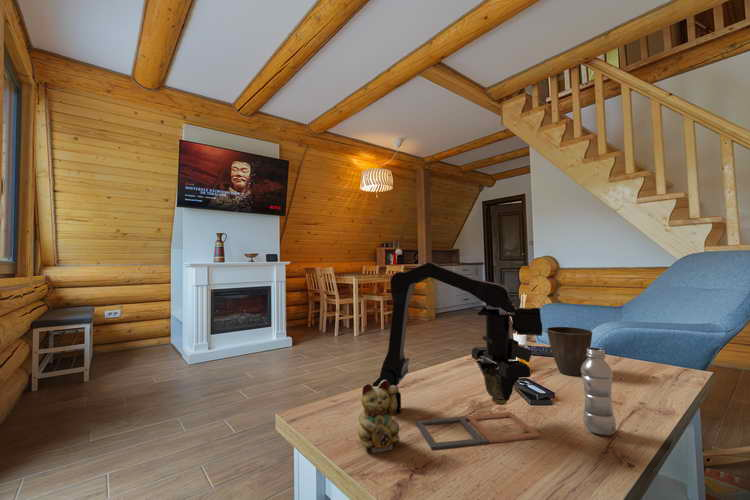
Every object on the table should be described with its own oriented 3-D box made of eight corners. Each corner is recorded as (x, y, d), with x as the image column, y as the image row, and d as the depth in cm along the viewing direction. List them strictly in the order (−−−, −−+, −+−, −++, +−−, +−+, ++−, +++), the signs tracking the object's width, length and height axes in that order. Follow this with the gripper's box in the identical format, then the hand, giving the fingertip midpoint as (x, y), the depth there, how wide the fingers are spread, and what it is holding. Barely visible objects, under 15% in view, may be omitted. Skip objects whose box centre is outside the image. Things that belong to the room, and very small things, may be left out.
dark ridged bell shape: (518, 410, 81) (517, 376, 82) (486, 408, 83) (485, 375, 83) (512, 398, 89) (511, 367, 89) (482, 396, 90) (481, 366, 90)
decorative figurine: (365, 459, 72) (364, 387, 73) (352, 440, 80) (351, 376, 81) (404, 448, 76) (403, 381, 77) (388, 432, 84) (387, 371, 85)
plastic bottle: (617, 442, 78) (613, 353, 79) (583, 434, 81) (579, 350, 82) (615, 430, 83) (611, 347, 84) (583, 423, 87) (579, 344, 88)
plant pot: (551, 365, 137) (550, 325, 138) (595, 371, 129) (593, 328, 129) (545, 374, 125) (543, 331, 126) (593, 382, 116) (590, 335, 117)
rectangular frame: (431, 449, 76) (431, 446, 76) (415, 423, 88) (415, 420, 88) (540, 437, 80) (540, 435, 80) (510, 414, 93) (510, 411, 93)
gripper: (550, 339, 79) (552, 407, 78) (506, 325, 97) (508, 380, 96) (506, 341, 77) (508, 411, 76) (470, 327, 95) (471, 383, 95)
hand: (499, 395), depth 86 cm, fingers closed on dark ridged bell shape, 6 cm apart
